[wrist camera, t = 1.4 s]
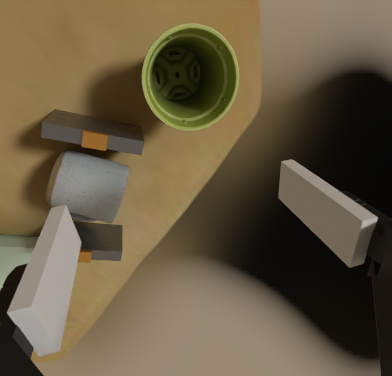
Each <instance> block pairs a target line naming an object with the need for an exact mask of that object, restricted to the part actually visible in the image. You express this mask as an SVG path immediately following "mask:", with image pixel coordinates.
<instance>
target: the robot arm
mask: <svg viewBox="0 0 392 376" xmlns="http://www.w3.org/2000/svg"><path fill="white" fill-rule="evenodd" d="M280 173H281V174H280V186H279V199H280V200H281V201H282V202H283V203H284V204H285V205H286V206H287V207H288V208H289V209H291V211H292V212H293V213H295V215H296V216H298V217H299V218H300V219H301V220H302V221H303V222H304V223H305V224H306V225H307V226H308V227H309V228H310V229H311V230H312V231H313V232H314V233H315V234H316V235H317V236H318V237H319V238H320V239H321V240H322V241H323V242H324V243H325V244H326V245H327V246H328V247H329V248H330V249H331V250H332V251H333V252H334V253H336V255H337V256H338V257H340V258H341V259H342V261H344V262H345V263H346V264H347V265H348V266H349V267H353V266H357V265H360V264H363V263H364V260H365V257H366V254H367V255H369V256H370V257H371V258H372V259H373V260H372V263H371V266H370V269H369V272H368V275H367V276H368V277H370V275H371V274H372V280H373V281H372V282H373V291H374V303H375V314H376V325H377V335H378V346H379V357H380V366H381V367H380V368H381V376H392V218H388V217H387V216H385V215H383V214H382V213H380V212H379V211H377V210H376V209H374V208H373V207H371V206H370V205H368V204H366V203H365V202H363V201H362V200H360V199H359V198H357V197H356V196H354V195H353V194H350V193H348V192H345V191H342V190H341V191H338V190H337V189H335V188H334V187H332V186H331V185H329V184H328V183H326V182H325V181H323V180H322V179H320V178H319V177H318V176H316V175H314V174H313V173H312V172H310V171H309V170H307V169H306V168H304V167H303V166H301V165H299V164H298V163H297V162H295V161H294V160H287V161H282V162H281V172H280ZM80 247H81V240H80V238H79V235H78V233H77V230H76V228H75V225H74V223H73V221H72V218H71V216H70V213H69V211H68V208H67V206H66V205H63V206H58V207H53V208H51V210H50V212H49V215H48V217H47V220H46V222H45V224H44V227H43V229H42V231H41V234H40V236H39V238H38V241H37V243H36V245H35V248H34V250H33V252H32V255H31V257H30V260H29V262H28V264H23V265H19V266H16V267H15V268H14V269H13V270H12V271H11V273H10V274H9V275H8V276H7V278H6V280H5V282H4V284H3V288H1V290H0V376H43V374H42V373H41V372H40V371H39V369H38V368H37V367H36V366H35V364H34V363H33V362H32V361H31V359H30V358H31V355H32V351H33V349H34V351H35V352H36V354H37V355H38V356H39V357H41V356H44V355H48V354H51V353H55V352H58V351H60V348H61V343H62V338H63V333H64V328H65V322H66V317H67V312H68V307H69V302H70V297H71V292H72V287H73V282H74V277H75V272H76V267H77V262H78V257H79V252H80Z"/></svg>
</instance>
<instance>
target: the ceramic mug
mask: <svg viewBox="0 0 392 376" xmlns="http://www.w3.org/2000/svg"><path fill="white" fill-rule="evenodd" d="M128 174H129V167H128V166H127V165H123V164H119V163H116V162H113V161H109V160H105V159H102V158H98V157H94V156H91V155H88V154H85V153H81V152H77V151H69V150H66V151H63V152H61V153H60V155H59V156H58V158H57V160H56V162H55V164H54V167H53V169H52V172H51V175H50V178H49V181H48V185H47V189H46V196H45V198H46V201H47V203H48V204H49V205H50V206H52V207H58V206H63V205H66V206H67V208H68V211H69V213H70V216H71V218H73V219H77V220H81V221H95V220H100V221H103V222H107V223H112V222H113V221H114V219H115V217H116V215H117V213H118V210H119V207H120V204H121V201H122V198H123V195H124V192H125V189H126V184H127V180H128Z"/></svg>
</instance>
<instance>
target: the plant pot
mask: <svg viewBox="0 0 392 376" xmlns="http://www.w3.org/2000/svg"><path fill="white" fill-rule="evenodd" d="M175 51H177V52H179V53H180V54H179V55H171V56H169V55H168V54H169V53H170V52H175ZM194 66H195V67H196V71H197V77H196V78H195V77H194V68H193V67H194ZM157 72H158V73H159V80H160V84H159V83H158V82H157V78H156V73H157ZM176 73H179V77H176V76H175V75H176ZM238 85H239V68H238V63H237V59H236V56H235V53H234V51H233V49H232V47H231V46H230V44H229V43H228V42H227V40H226V39H225V38H224V37H223V36H222V35H221V34H220V33H218V32H217V31H216V30H214V29H212V28H210V27H208V26H205V25H201V24H183V25H179V26H176V27H174V28H172V29H170V30H168V31H166V32H165V33H163V34H162V35H161V36H159V37H158V38H157V39H156V41H155V42H154V43H153V44H152V46H151V47H150V49H149V51H148V52H147V55H146V57H145V60H144V63H143V67H142V88H143V93H144V96H145V99H146V101H147V103H148V105H149V107H150V109H151V110H152V111H153V113H154V114H155V115H156V116H157V117H158V118H159V119H160V120H161V121H162V122H164V123H165V124H167V125H168V126H170V127H172V128H175V129H178V130H183V131H196V130H200V129H204V128H206V127H209V126H211V125H212V124H214V123H216V122H217V121H218V120H220V119H221V118H222V117H223V116H224V115H225V114H226V112H227V111H228V110H229V108H230V107H231V105H232V103H233V101H234V99H235V96H236V93H237V90H238ZM180 93H185V94H184V95H182V96H180V97H176V96H175V95H174V94H180Z"/></svg>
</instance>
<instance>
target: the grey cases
mask: <svg viewBox="0 0 392 376" xmlns="http://www.w3.org/2000/svg"><path fill="white" fill-rule="evenodd" d="M41 138H46V139H52V140H58V141H63V142H69V143H75V144H81V145H82V147H86V148H92V149H97V150H103V151H106V149H109V150H115V151H121V152H127V153H133V154H138V155H142V150H143V145H144V139H143V134H142V130H141V127H137V126H133V125H128V124H123V123H118V122H113V121H109V120H104V119H99V118H94V117H90V116H85V115H80V114H75V113H70V112H66V111H61V110H56V109H55V110H54V111H53V112H52V113H51V114H50V115H49V116H48V117H47V118H46V119H45V120H44V121H42V133H41ZM73 223H74V225H75V228H76V230H77V233H78V235H79V238H80V240H81V247H80V252H79V257H78V262H88V263H90V262H91V260H113V261H121V256H122V225H110V224H98V223H86V222H74V221H73Z"/></svg>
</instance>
